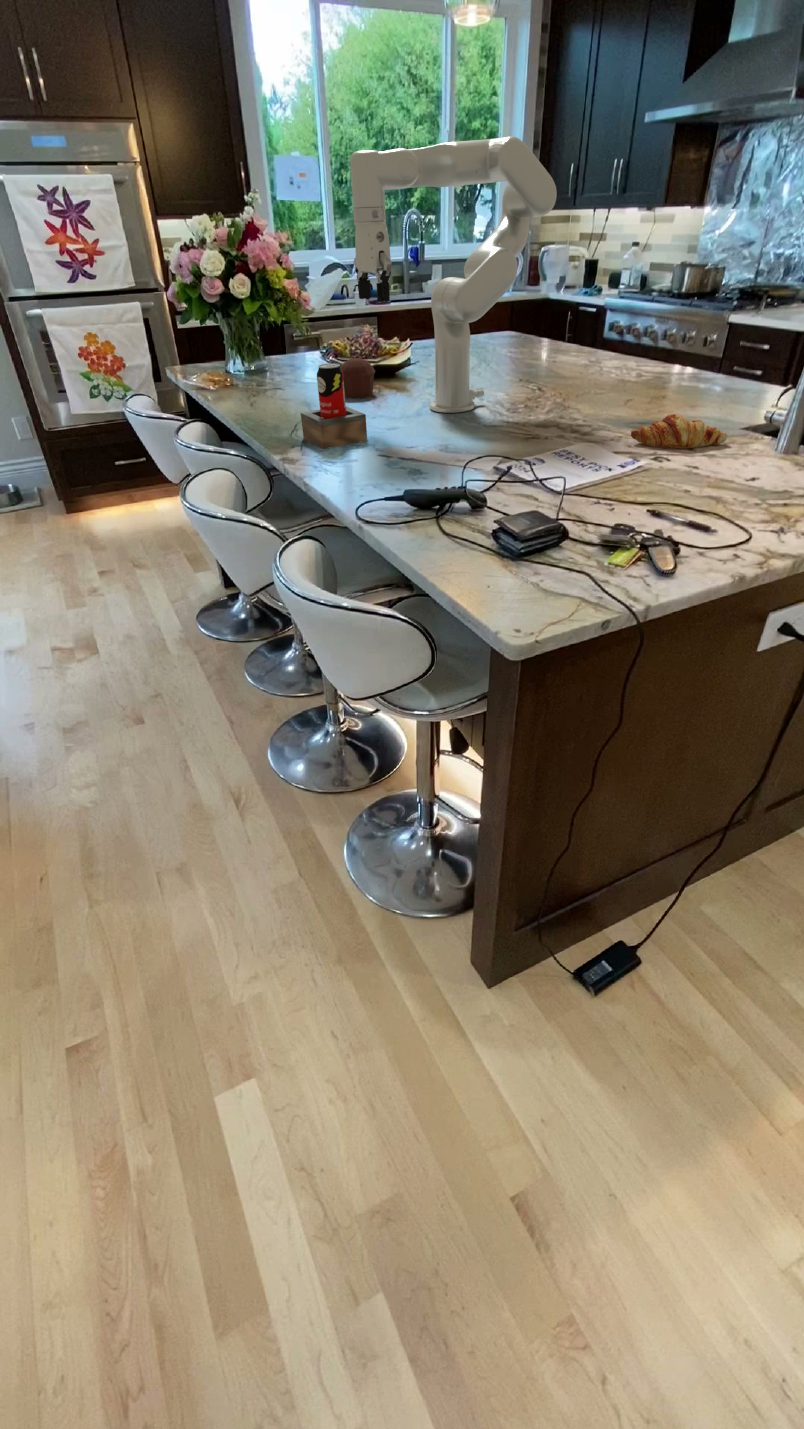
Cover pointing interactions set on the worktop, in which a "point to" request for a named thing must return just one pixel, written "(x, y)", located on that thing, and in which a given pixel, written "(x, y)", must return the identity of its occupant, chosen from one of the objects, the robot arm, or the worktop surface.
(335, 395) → the beverage can
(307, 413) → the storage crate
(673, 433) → the croissant
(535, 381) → the worktop surface
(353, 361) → the muffin
